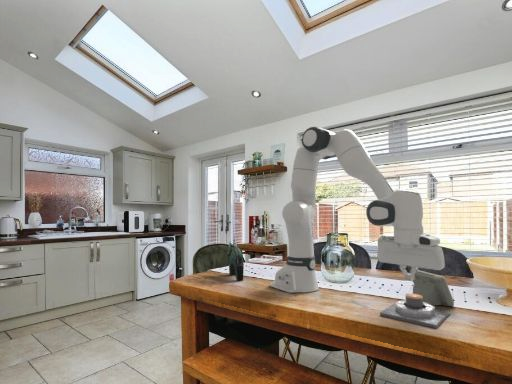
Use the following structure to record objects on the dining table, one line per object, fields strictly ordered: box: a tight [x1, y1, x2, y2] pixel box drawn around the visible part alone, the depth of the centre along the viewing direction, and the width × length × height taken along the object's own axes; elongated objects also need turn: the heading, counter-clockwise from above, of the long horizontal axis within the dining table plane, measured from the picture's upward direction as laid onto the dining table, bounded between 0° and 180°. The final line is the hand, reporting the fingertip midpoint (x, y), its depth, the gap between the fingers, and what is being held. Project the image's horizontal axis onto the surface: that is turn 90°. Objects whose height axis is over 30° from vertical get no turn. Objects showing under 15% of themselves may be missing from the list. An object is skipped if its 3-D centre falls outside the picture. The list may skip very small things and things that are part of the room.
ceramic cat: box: [226, 239, 245, 282], centre depth 157 cm, size 20×6×20 cm, turn 17°
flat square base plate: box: [379, 299, 451, 329], centre depth 96 cm, size 16×16×3 cm
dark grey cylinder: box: [405, 293, 423, 309], centre depth 96 cm, size 5×5×5 cm
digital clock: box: [409, 268, 455, 307], centre depth 110 cm, size 16×9×11 cm, turn 1°
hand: (409, 279), depth 98 cm, fingers closed
